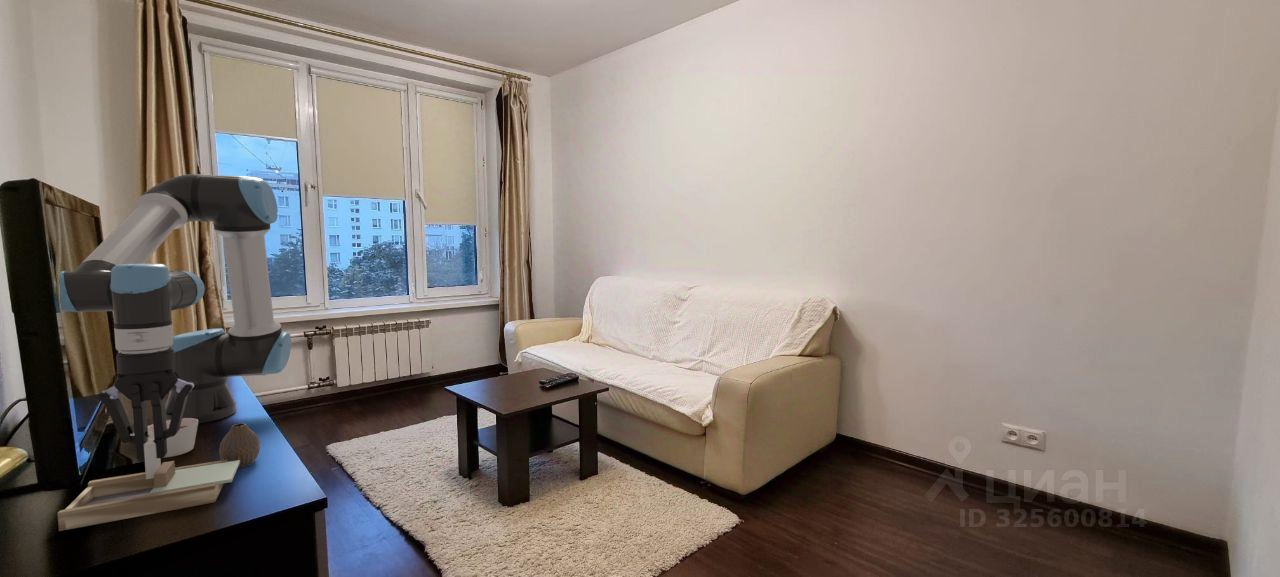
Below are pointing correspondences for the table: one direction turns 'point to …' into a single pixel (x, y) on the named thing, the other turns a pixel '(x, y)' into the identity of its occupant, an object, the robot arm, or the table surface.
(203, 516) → the table surface
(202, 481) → the lid
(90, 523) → the wooden box
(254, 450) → the vase
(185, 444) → the candle
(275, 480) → the table surface
